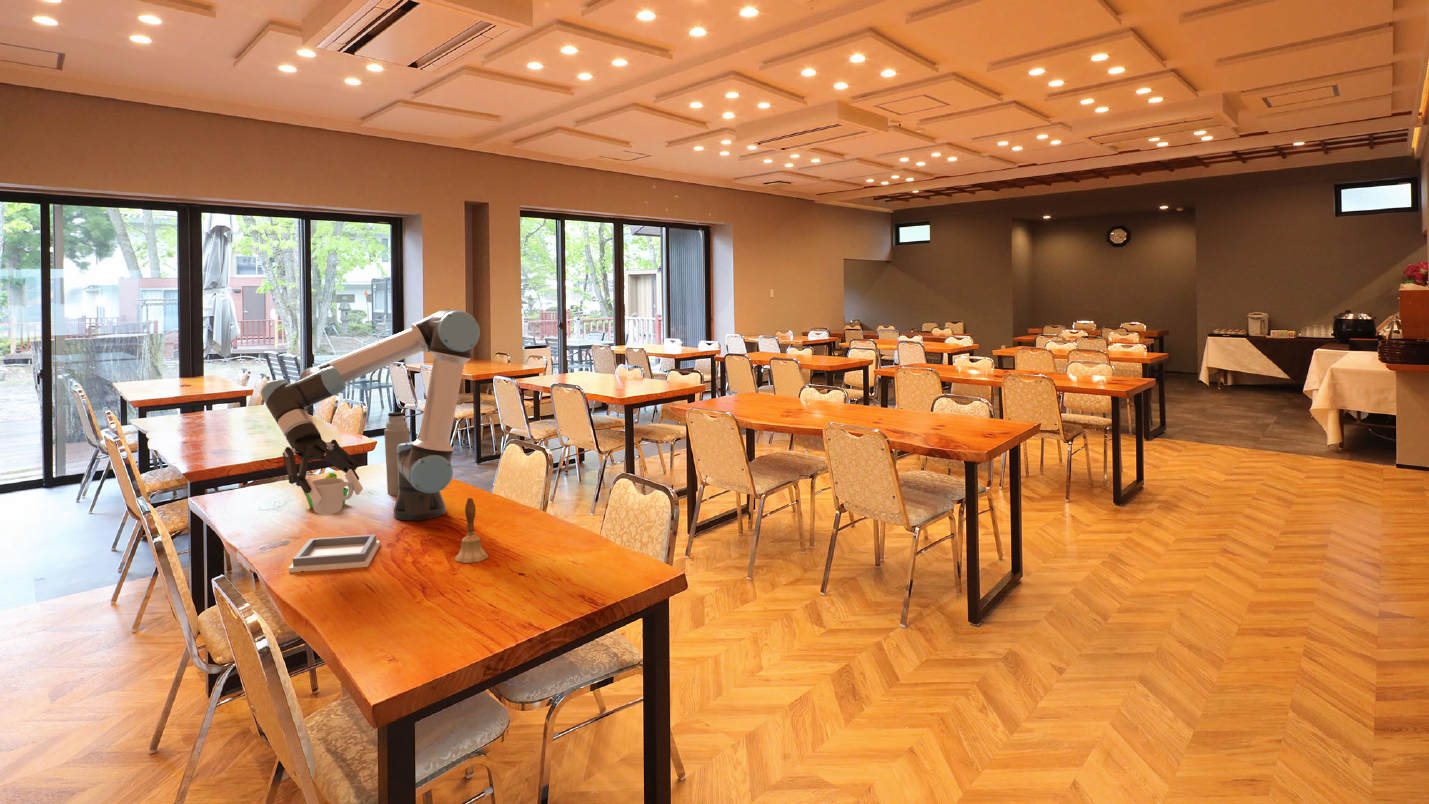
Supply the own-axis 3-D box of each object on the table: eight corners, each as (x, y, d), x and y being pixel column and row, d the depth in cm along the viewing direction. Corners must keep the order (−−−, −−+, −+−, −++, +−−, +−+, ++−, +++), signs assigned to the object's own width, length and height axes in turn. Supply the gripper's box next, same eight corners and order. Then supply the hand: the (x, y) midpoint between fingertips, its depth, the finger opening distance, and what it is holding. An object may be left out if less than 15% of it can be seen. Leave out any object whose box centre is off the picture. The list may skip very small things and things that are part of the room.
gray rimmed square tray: (380, 544, 212) (379, 533, 211) (367, 566, 194) (367, 554, 194) (308, 549, 207) (307, 537, 207) (289, 572, 190) (288, 560, 190)
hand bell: (459, 553, 205) (456, 494, 203) (491, 552, 206) (489, 494, 204) (451, 563, 197) (448, 503, 195) (484, 563, 198) (482, 502, 195)
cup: (345, 503, 206) (343, 474, 205) (362, 508, 201) (360, 478, 200) (304, 512, 197) (302, 482, 196) (321, 518, 192) (319, 486, 191)
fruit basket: (338, 500, 257) (336, 467, 256) (352, 504, 252) (350, 470, 251) (303, 507, 248) (301, 473, 247) (318, 512, 243) (315, 477, 242)
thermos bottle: (417, 490, 271) (413, 411, 267) (403, 495, 263) (399, 414, 259) (396, 489, 272) (392, 410, 268) (382, 494, 264) (378, 414, 261)
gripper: (335, 433, 214) (373, 495, 209) (249, 446, 195) (289, 515, 189) (346, 415, 211) (385, 478, 205) (260, 427, 191) (300, 497, 185)
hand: (339, 496), depth 197 cm, fingers closed on cup, 11 cm apart
